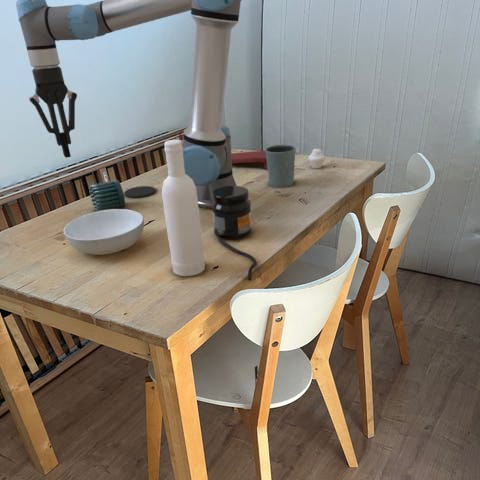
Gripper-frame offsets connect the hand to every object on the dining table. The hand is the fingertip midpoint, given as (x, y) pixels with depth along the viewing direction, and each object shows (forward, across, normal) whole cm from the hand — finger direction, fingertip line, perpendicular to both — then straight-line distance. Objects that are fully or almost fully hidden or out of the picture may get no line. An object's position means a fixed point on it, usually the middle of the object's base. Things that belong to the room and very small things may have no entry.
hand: (67, 156), depth 143 cm
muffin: (+18, -88, +4) cm, 90 cm away
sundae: (+19, -46, -26) cm, 56 cm away
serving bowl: (+19, -1, +29) cm, 35 cm away
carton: (+18, -69, -18) cm, 74 cm away
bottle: (+18, -14, +54) cm, 59 cm away
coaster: (+18, -23, -10) cm, 31 cm away
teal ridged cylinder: (+18, -9, 0) cm, 20 cm away
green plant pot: (+18, -67, +12) cm, 70 cm away
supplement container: (+18, -33, +41) cm, 56 cm away
